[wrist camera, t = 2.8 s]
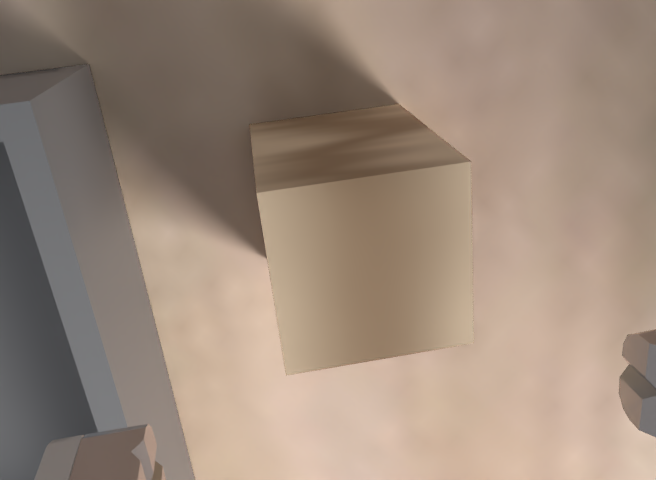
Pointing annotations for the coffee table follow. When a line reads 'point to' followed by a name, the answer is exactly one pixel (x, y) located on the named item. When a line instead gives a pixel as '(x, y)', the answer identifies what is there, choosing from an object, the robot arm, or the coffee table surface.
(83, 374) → the bin
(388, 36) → the coffee table surface
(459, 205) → the beech block
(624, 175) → the coffee table surface
